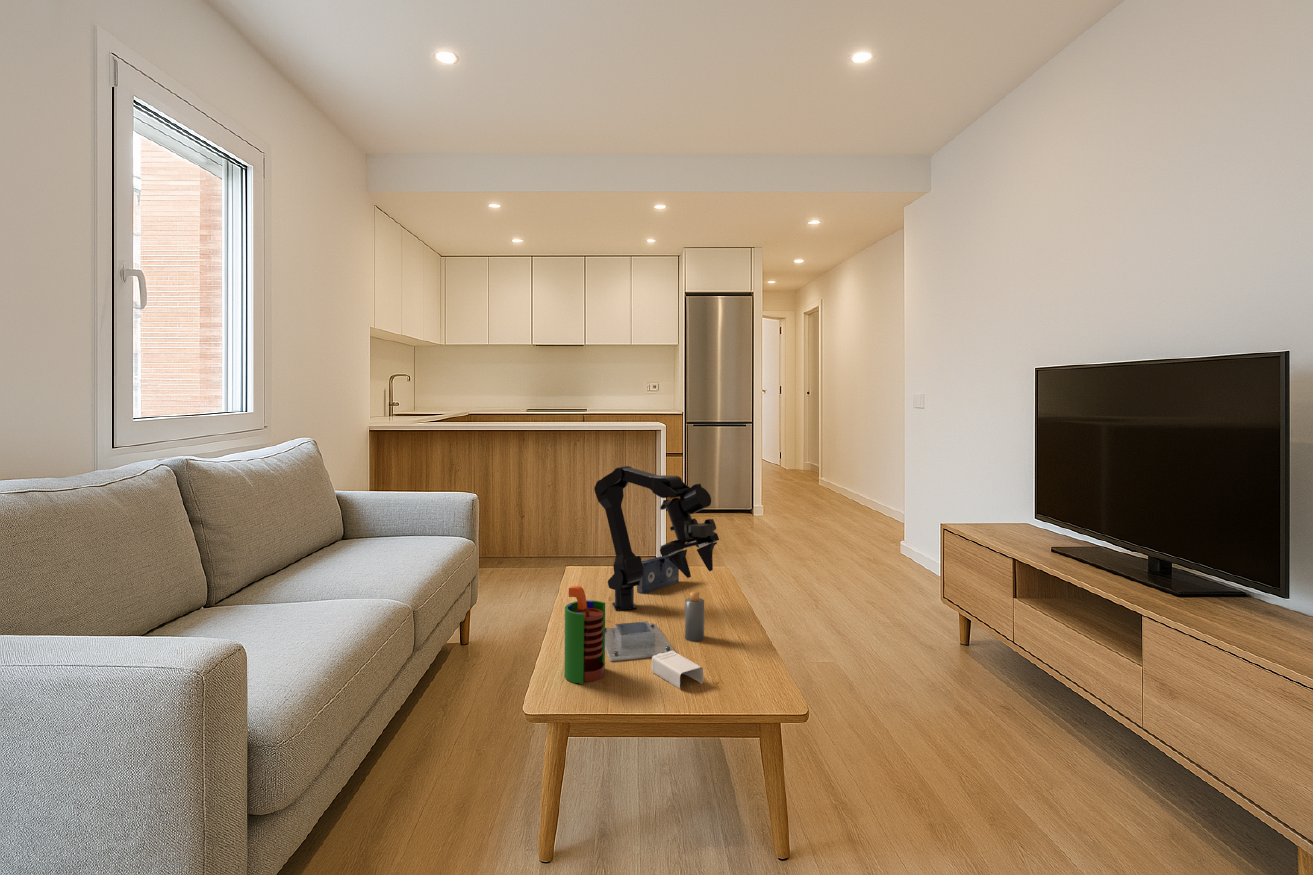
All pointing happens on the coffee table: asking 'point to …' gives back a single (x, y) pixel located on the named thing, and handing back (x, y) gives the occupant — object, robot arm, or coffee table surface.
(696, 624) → the grey and orange piece
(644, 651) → the pump mount
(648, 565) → the vhs cassette tape
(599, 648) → the motor
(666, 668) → the white plastic end cap
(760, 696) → the coffee table surface
